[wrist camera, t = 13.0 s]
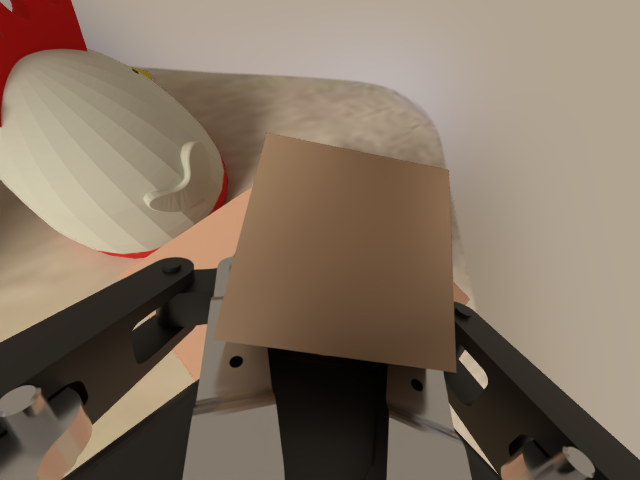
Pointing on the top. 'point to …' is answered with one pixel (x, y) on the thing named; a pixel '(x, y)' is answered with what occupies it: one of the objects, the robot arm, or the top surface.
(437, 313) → the walnut bar
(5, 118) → the kitchen timer
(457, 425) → the top surface
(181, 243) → the terracotta well block
